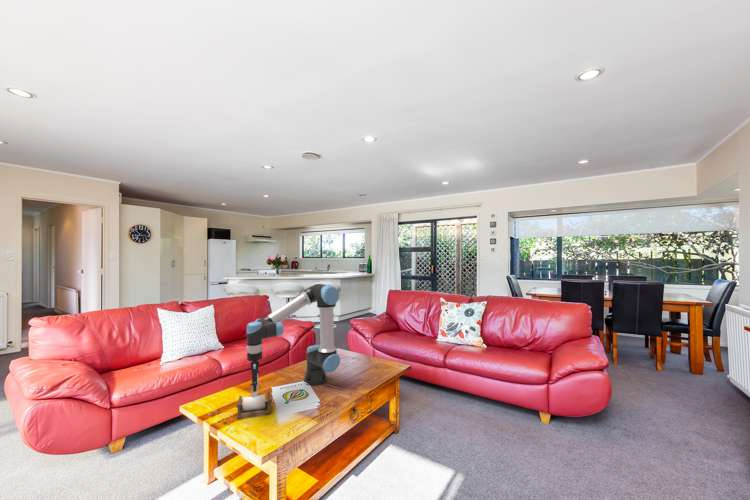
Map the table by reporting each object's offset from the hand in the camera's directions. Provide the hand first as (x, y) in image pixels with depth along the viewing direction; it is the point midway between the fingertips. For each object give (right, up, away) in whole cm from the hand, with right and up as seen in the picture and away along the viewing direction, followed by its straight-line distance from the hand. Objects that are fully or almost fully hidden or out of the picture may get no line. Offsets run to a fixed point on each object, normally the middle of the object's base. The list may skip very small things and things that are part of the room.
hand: (255, 391), depth 169 cm
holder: (0, -11, 0) cm, 11 cm away
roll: (-1, -6, 0) cm, 6 cm away
